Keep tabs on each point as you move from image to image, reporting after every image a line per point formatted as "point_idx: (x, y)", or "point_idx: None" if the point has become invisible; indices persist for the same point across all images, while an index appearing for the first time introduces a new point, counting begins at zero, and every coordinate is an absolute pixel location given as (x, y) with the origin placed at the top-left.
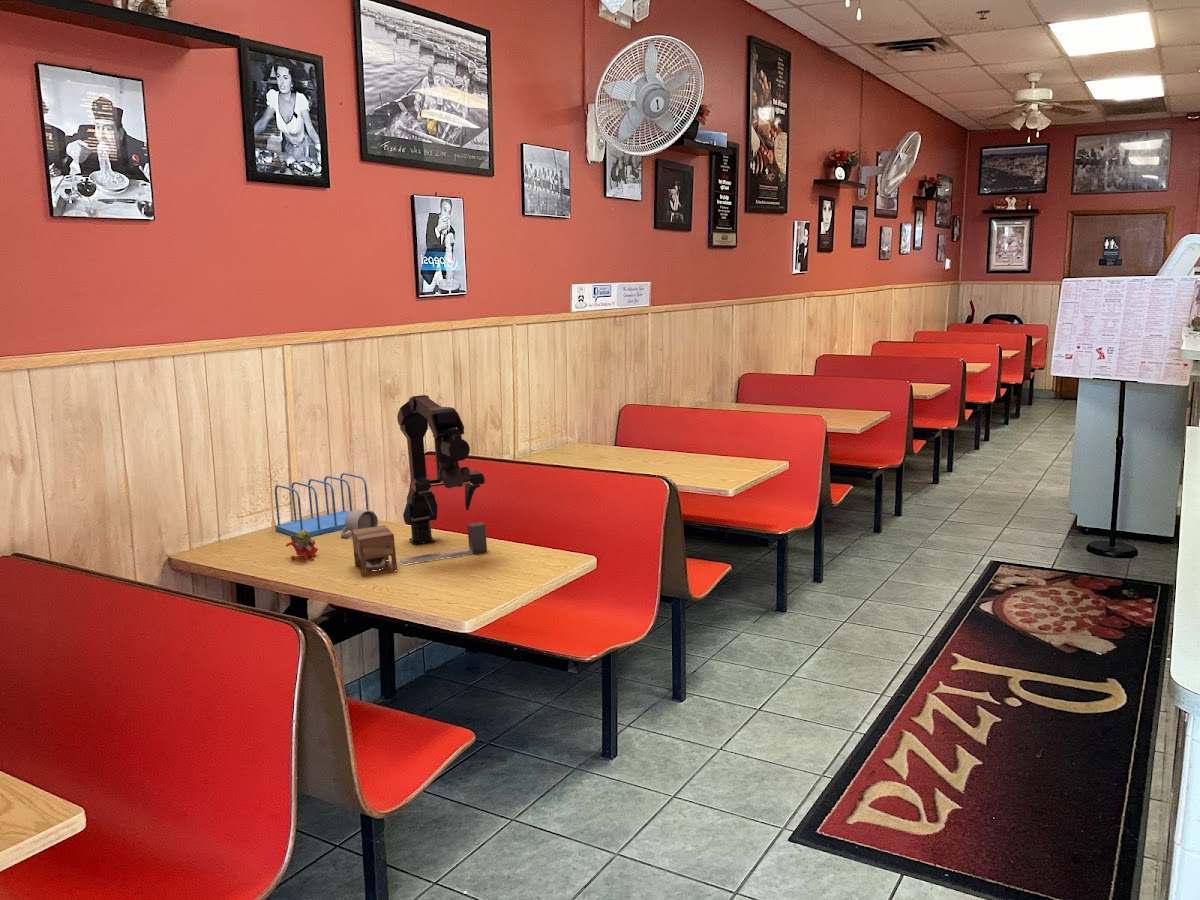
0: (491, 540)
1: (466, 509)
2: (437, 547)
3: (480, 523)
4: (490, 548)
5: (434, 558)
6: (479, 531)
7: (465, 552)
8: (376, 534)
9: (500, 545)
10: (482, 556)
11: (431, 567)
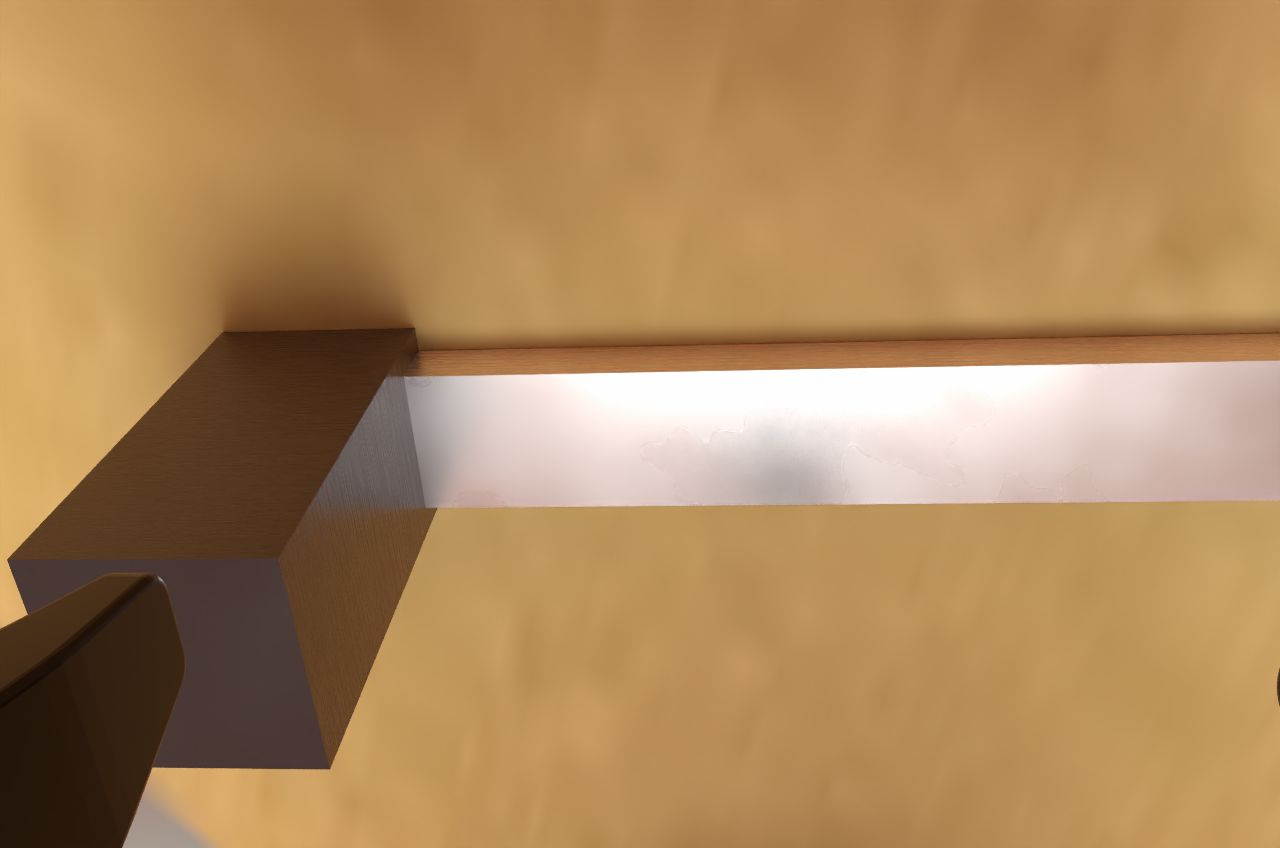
0: None
1: (167, 630)
2: (756, 821)
3: None
4: None
5: (967, 352)
6: (174, 494)
7: (511, 368)
8: None
9: None
10: (303, 183)
11: (1132, 7)
